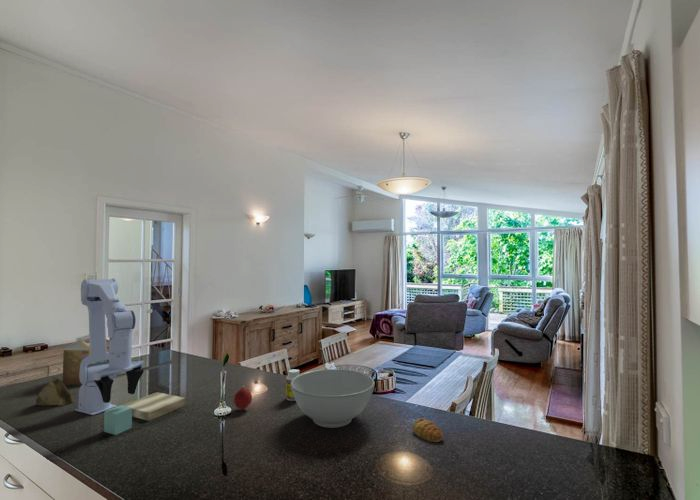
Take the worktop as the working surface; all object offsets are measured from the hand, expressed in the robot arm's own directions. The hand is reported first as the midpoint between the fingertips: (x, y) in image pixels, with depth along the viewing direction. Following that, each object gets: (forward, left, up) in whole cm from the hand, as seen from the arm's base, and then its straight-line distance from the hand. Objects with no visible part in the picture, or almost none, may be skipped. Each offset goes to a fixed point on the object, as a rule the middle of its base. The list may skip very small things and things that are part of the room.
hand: (119, 397), depth 110 cm
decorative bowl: (+55, +33, -10) cm, 65 cm away
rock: (-40, +4, -10) cm, 41 cm away
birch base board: (-4, +15, -9) cm, 18 cm away
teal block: (0, 0, -10) cm, 10 cm away
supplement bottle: (+34, +43, -10) cm, 56 cm away
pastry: (+85, +35, -10) cm, 92 cm away
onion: (+24, +27, -10) cm, 37 cm away
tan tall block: (-57, +24, -10) cm, 63 cm away
